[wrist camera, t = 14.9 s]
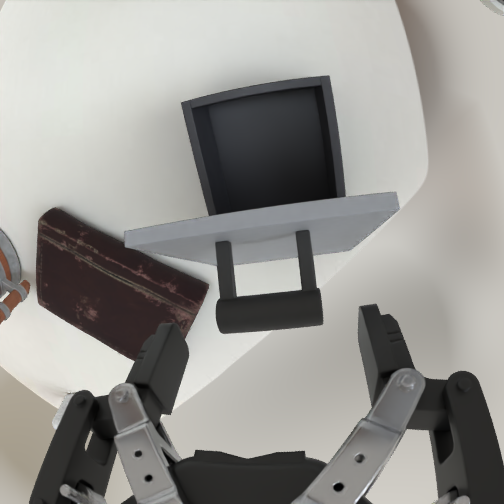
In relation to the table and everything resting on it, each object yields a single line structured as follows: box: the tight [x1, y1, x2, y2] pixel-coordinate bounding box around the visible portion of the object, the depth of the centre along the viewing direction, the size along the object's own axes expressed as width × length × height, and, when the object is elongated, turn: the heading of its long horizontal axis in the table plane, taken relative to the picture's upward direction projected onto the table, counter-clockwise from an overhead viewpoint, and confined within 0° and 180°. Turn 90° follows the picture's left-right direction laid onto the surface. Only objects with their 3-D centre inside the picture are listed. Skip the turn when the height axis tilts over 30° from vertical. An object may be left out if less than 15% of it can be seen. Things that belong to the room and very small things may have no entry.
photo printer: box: [52, 394, 74, 430], centre depth 58 cm, size 10×4×12 cm, turn 118°
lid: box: [124, 192, 400, 334], centre depth 20 cm, size 16×13×5 cm
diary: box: [36, 207, 209, 361], centre depth 40 cm, size 19×25×5 cm
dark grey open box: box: [181, 76, 346, 216], centre depth 28 cm, size 16×13×7 cm
